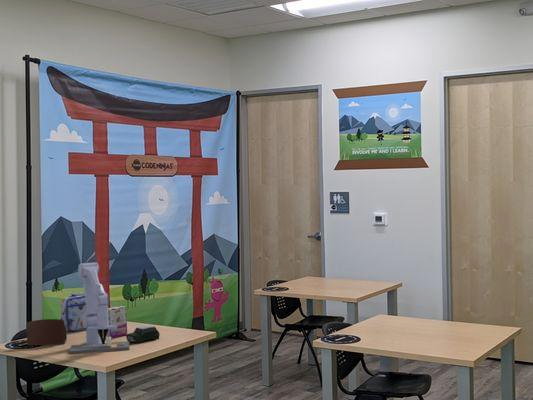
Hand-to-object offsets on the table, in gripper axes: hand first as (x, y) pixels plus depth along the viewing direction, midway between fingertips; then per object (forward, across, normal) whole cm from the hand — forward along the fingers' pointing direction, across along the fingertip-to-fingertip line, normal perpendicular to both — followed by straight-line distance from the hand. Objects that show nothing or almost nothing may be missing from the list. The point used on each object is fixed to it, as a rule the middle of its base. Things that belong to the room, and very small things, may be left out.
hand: (103, 343), depth 370 cm
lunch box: (+3, -14, +61) cm, 63 cm away
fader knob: (+1, +3, 0) cm, 3 cm away
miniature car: (+3, +21, +16) cm, 26 cm away
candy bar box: (+3, +6, +33) cm, 34 cm away
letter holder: (+3, -31, +27) cm, 41 cm away
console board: (+3, -2, +2) cm, 4 cm away
